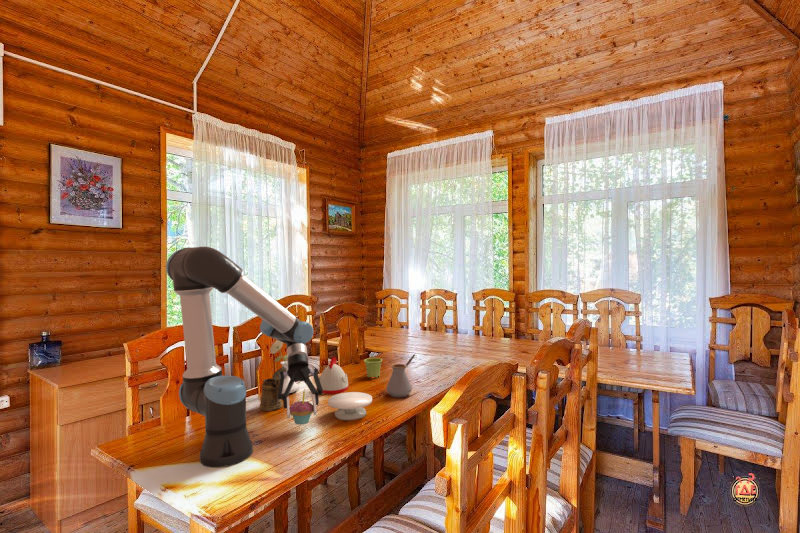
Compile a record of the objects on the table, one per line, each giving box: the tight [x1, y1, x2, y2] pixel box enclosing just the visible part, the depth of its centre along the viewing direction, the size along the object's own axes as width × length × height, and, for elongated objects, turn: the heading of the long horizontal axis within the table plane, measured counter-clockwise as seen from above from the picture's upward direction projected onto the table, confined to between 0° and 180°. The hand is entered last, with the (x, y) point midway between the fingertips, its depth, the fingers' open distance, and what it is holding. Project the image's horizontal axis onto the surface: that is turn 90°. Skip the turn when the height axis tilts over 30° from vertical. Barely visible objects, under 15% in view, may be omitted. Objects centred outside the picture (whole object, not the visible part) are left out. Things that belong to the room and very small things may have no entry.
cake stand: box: [327, 391, 373, 421], centre depth 160 cm, size 17×17×6 cm
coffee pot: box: [386, 354, 416, 398], centre depth 187 cm, size 21×12×15 cm, turn 149°
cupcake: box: [290, 389, 314, 425], centre depth 145 cm, size 9×8×12 cm
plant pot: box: [363, 357, 383, 378], centre depth 213 cm, size 9×9×9 cm
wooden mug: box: [258, 366, 287, 412], centre depth 168 cm, size 9×14×18 cm, turn 50°
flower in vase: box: [269, 339, 300, 395], centre depth 189 cm, size 13×11×25 cm
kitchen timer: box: [318, 356, 349, 395], centre depth 193 cm, size 14×14×15 cm
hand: (302, 414), depth 142 cm, fingers closed on cupcake, 8 cm apart
